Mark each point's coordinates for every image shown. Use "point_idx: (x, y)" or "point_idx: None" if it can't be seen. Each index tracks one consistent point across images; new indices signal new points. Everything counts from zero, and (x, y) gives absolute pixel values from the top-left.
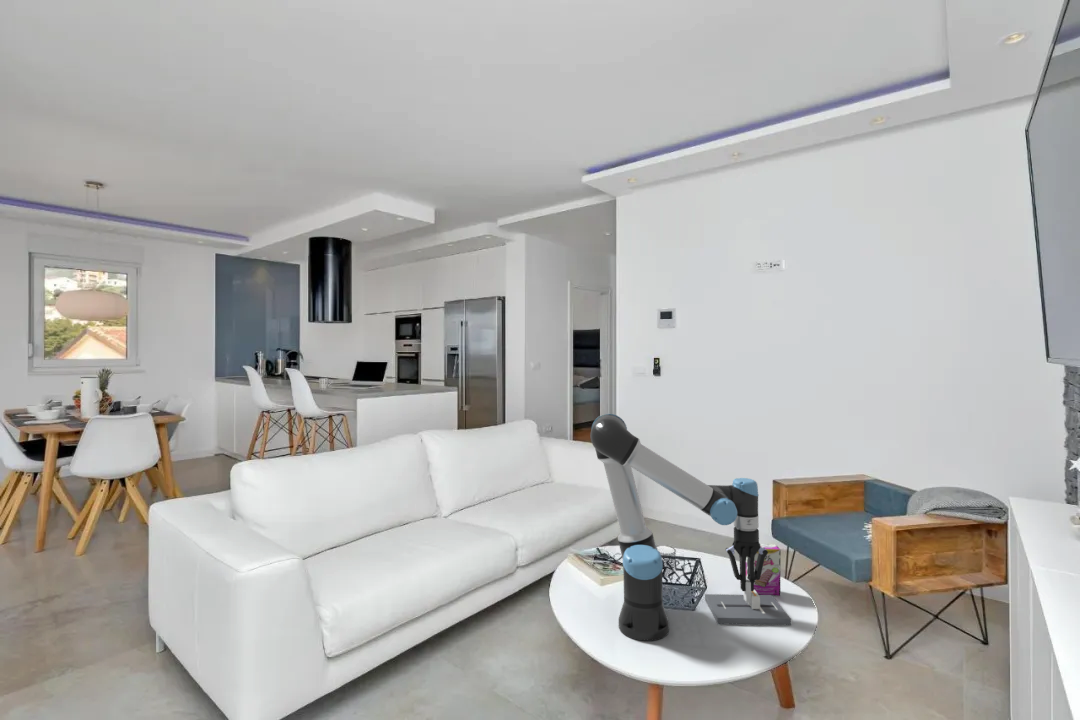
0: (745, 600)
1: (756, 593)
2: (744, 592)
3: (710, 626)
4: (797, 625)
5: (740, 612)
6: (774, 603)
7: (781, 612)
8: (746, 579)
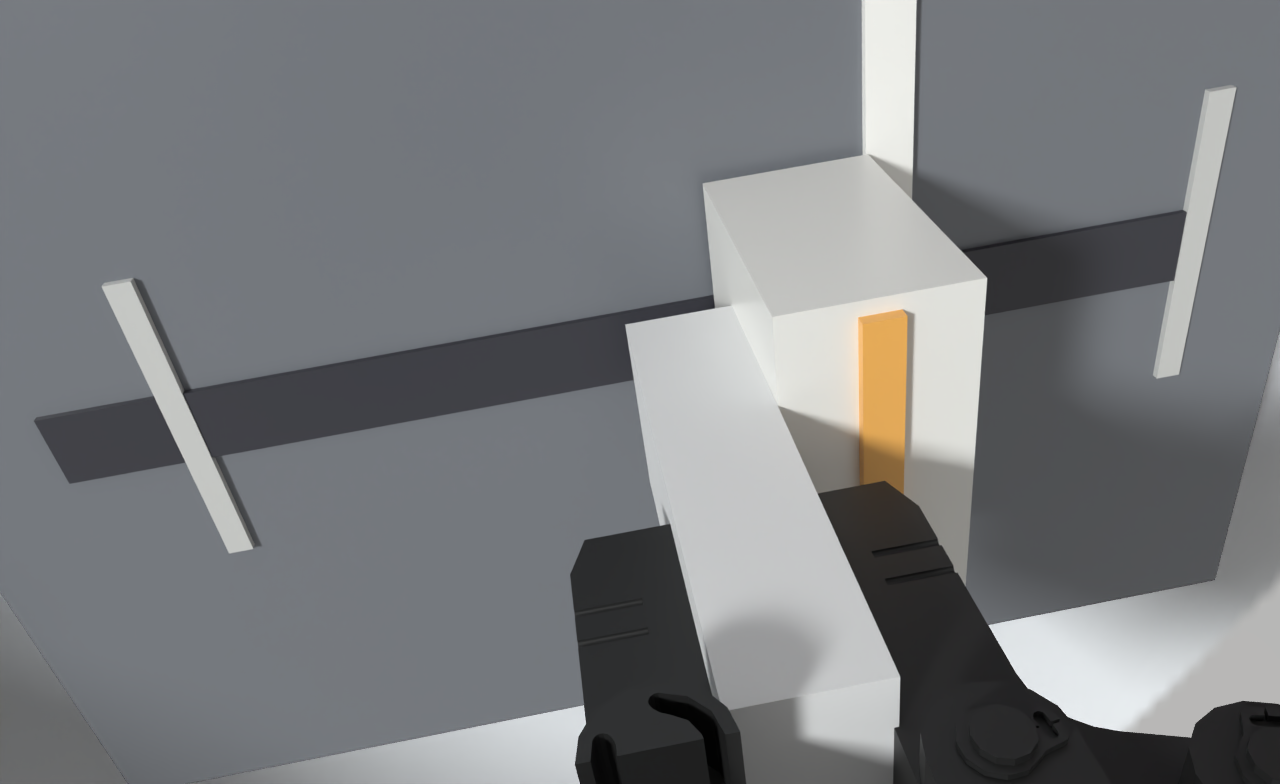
0: (644, 440)
1: (946, 481)
2: (660, 482)
3: (70, 773)
4: (1240, 498)
5: (502, 585)
6: (1255, 119)
7: (1183, 441)
8: (822, 736)
